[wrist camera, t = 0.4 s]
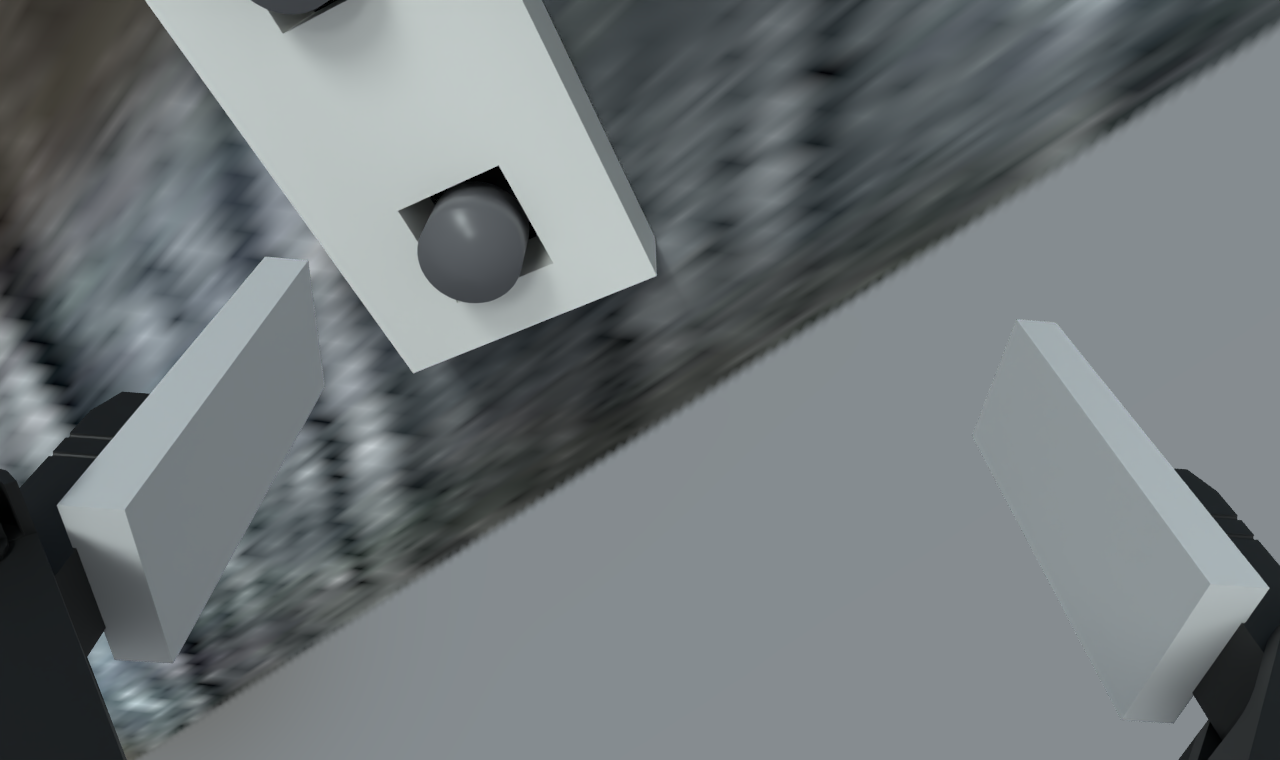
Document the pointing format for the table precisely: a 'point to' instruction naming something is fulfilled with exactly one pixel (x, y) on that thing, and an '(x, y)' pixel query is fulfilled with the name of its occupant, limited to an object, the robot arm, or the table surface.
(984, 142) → the table surface
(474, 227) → the grey dome
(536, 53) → the white rectangular box
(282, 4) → the dark grey rounded piece
